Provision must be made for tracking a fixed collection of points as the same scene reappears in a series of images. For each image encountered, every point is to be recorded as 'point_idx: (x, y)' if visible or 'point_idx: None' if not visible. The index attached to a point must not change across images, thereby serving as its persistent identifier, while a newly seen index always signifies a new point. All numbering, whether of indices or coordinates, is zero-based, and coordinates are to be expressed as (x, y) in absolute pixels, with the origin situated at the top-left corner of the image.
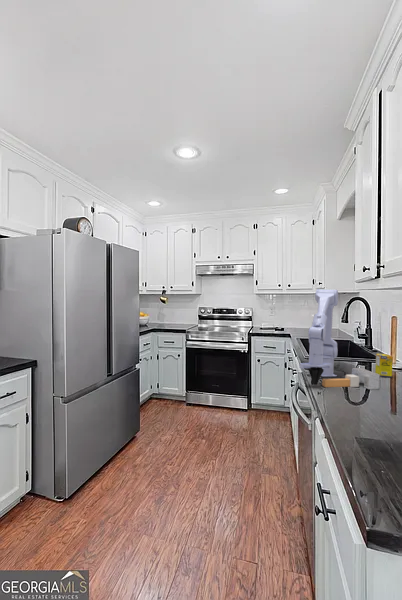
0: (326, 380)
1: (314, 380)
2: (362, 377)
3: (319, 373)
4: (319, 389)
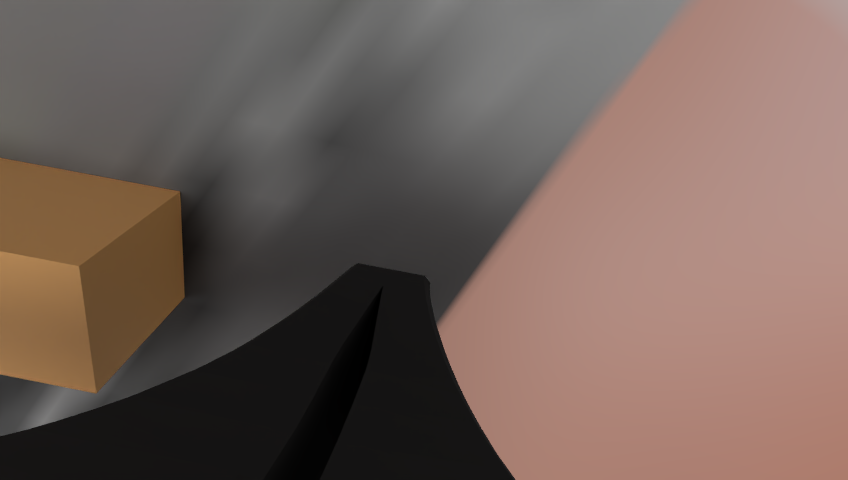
0: (46, 257)
1: (435, 339)
2: None
3: (215, 445)
4: (435, 76)
